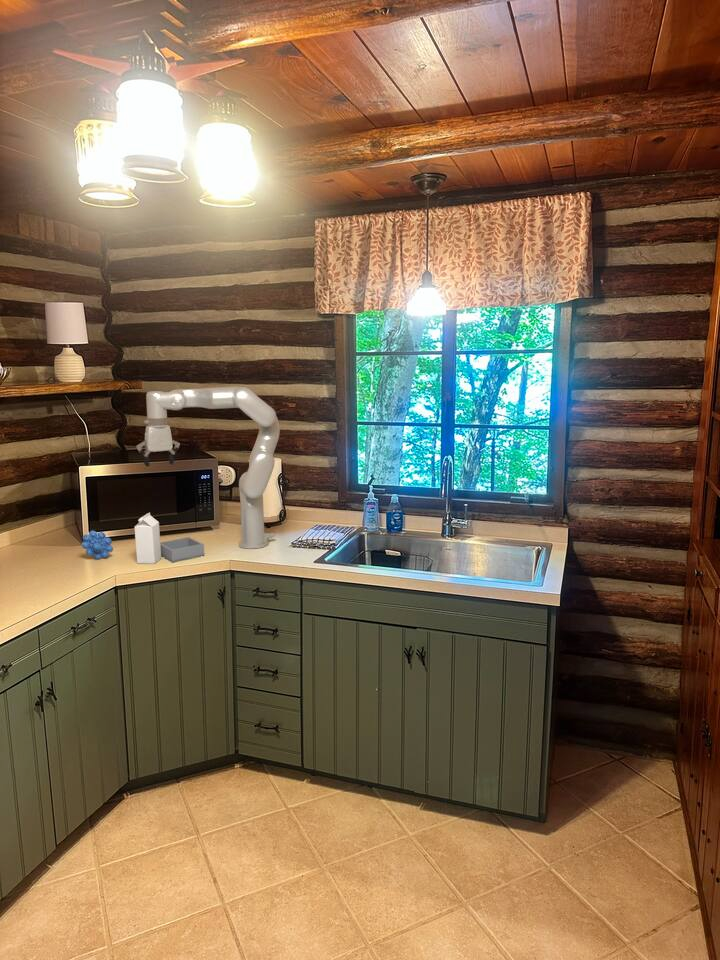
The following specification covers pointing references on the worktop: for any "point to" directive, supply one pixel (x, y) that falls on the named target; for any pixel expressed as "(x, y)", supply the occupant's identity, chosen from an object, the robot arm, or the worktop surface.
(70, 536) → the worktop surface
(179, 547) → the bin
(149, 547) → the milk carton
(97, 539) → the grapes
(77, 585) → the worktop surface
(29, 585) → the worktop surface
